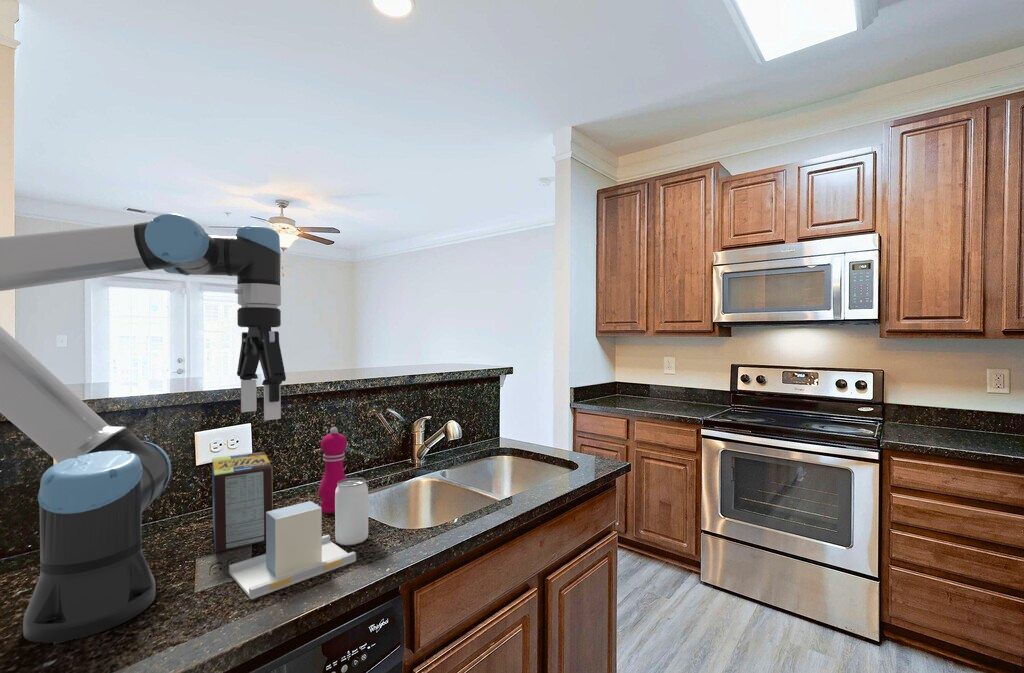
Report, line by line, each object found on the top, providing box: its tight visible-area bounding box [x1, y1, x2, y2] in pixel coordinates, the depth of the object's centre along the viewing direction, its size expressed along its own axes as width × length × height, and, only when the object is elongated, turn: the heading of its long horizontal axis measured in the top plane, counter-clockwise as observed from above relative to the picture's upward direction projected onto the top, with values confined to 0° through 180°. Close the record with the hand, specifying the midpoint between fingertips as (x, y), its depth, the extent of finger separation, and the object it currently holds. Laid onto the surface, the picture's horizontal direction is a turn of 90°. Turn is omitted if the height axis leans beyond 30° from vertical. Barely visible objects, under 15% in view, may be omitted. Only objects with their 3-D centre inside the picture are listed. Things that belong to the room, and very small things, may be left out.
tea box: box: [265, 500, 323, 577], centre depth 87 cm, size 8×5×10 cm, turn 135°
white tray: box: [228, 534, 357, 600], centre depth 87 cm, size 18×12×2 cm
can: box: [334, 477, 369, 547], centre depth 98 cm, size 6×6×12 cm
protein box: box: [211, 451, 274, 553], centre depth 102 cm, size 10×15×16 cm
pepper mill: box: [317, 426, 348, 514], centre depth 116 cm, size 7×7×20 cm
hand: (260, 415), depth 93 cm, fingers open, 13 cm apart
